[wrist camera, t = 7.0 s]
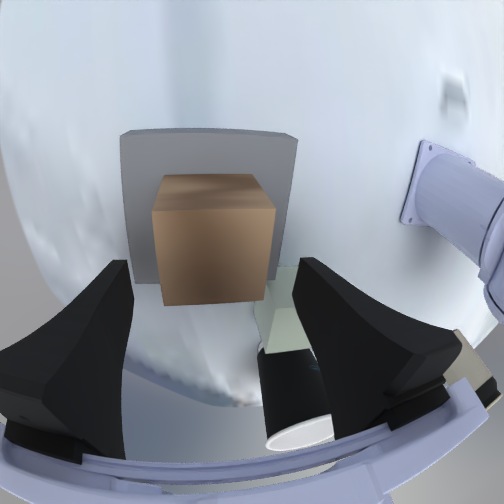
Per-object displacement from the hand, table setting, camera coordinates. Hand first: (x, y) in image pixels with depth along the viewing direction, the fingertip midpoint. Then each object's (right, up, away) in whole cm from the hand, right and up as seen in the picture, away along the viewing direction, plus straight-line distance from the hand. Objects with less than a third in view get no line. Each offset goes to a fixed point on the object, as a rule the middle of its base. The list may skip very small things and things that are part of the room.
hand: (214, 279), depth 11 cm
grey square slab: (-2, +5, +8) cm, 9 cm away
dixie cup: (+4, -9, +17) cm, 20 cm away
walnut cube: (-1, +3, +5) cm, 6 cm away
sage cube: (+4, -2, +13) cm, 14 cm away
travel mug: (+40, -17, +30) cm, 53 cm away
